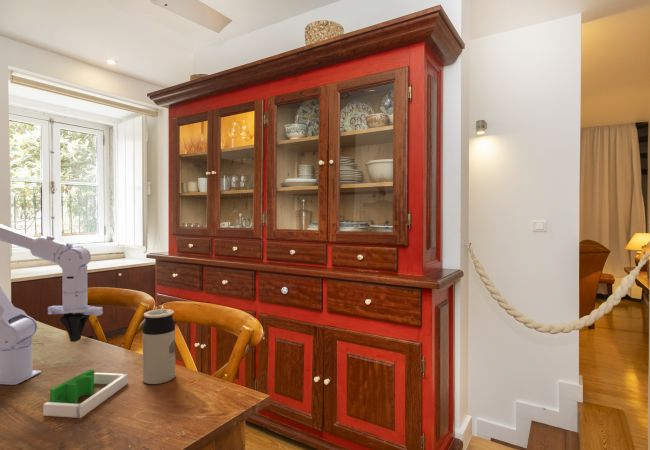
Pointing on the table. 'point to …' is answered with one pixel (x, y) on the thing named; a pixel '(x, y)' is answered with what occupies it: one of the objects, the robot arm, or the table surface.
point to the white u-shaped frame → (82, 409)
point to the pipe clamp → (73, 388)
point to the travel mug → (158, 346)
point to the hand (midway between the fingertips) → (75, 340)
